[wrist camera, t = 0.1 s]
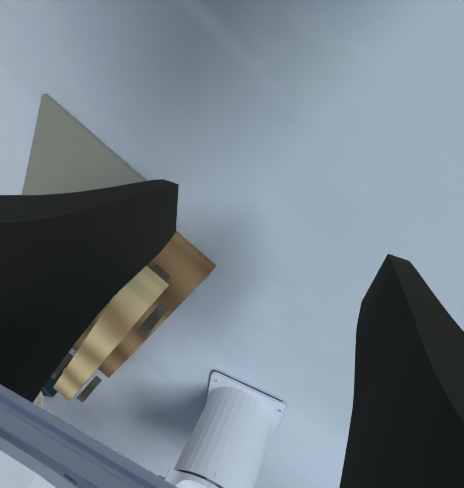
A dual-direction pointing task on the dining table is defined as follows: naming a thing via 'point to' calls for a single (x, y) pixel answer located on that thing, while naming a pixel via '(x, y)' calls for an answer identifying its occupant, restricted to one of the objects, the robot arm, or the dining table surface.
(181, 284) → the rack
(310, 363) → the dining table surface
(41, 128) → the mat
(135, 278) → the rail
